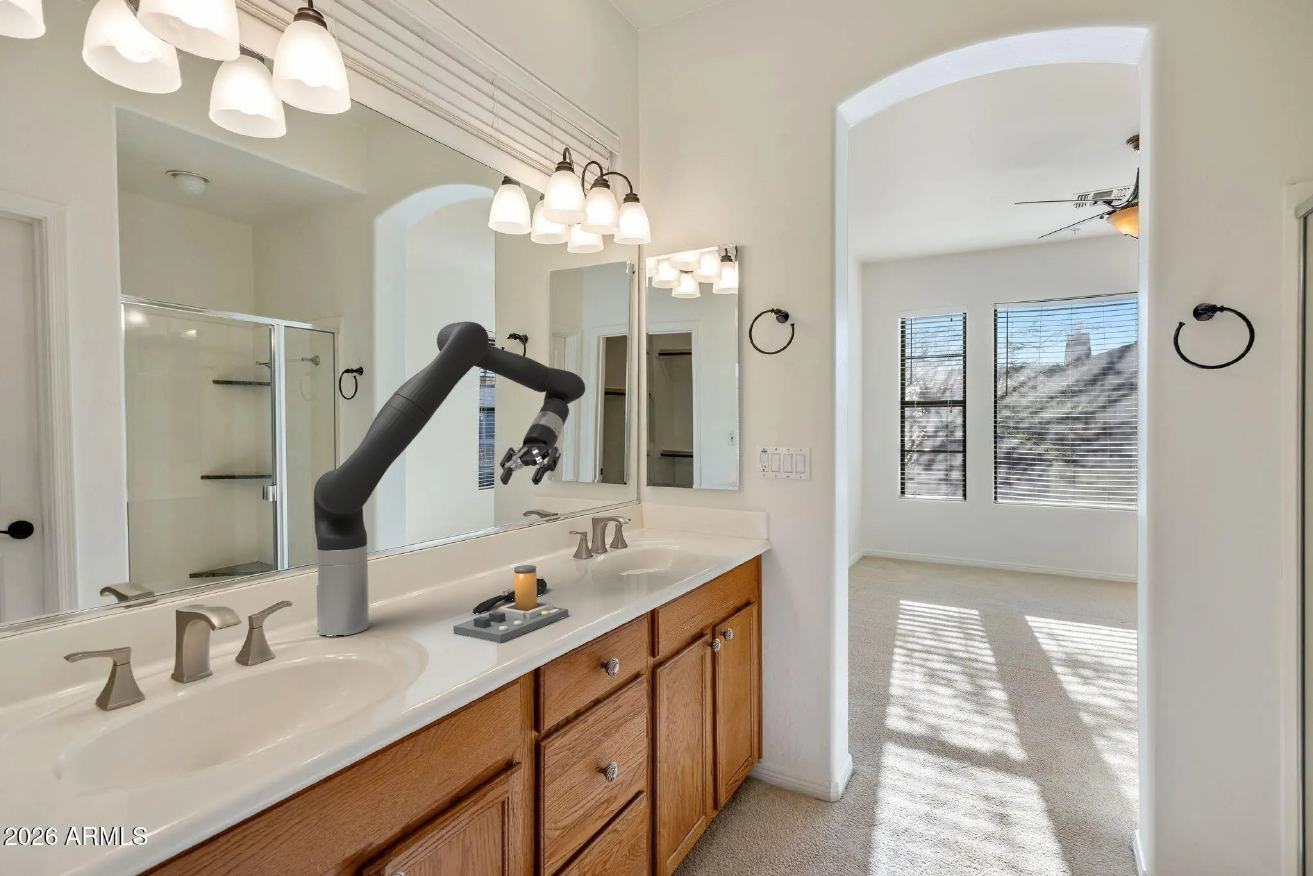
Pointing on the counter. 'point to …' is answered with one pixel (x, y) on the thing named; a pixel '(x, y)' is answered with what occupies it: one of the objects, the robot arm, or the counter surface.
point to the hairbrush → (507, 597)
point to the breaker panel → (510, 622)
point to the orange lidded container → (525, 587)
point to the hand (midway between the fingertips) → (518, 482)
